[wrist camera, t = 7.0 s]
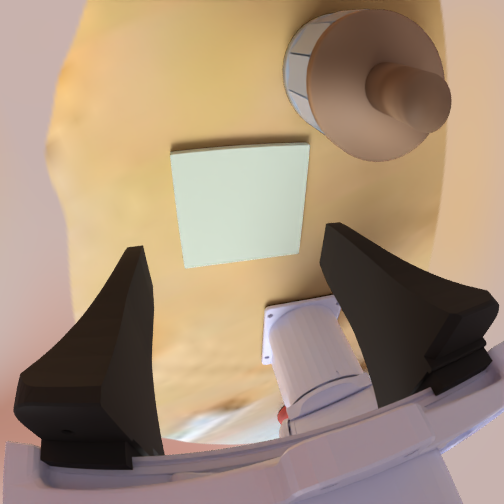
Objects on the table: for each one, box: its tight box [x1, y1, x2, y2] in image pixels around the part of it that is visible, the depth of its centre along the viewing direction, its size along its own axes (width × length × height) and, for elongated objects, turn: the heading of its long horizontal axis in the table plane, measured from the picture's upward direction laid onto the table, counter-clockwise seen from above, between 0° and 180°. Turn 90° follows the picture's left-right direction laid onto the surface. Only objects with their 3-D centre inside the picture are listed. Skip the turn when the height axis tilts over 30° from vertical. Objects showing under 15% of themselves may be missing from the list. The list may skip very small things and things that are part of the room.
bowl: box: [283, 9, 369, 135], centre depth 16 cm, size 9×9×4 cm
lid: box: [306, 10, 451, 162], centre depth 13 cm, size 9×9×4 cm
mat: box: [170, 142, 310, 268], centre depth 22 cm, size 9×9×1 cm
